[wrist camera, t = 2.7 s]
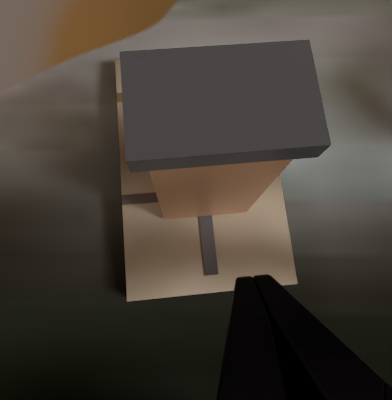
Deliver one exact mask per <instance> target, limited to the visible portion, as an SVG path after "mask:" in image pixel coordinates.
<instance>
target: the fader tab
mask: <svg viewBox="0 0 392 400" xmlns="http://www.w3.org/2000/svg"><path fill="white" fill-rule="evenodd" d="M120 67H121V85H122V104H123V122H124V141H125V159H126V163H127V165H128V168H129V170H130V172H131V173H132V172H144V171H149V172H150V176H151V179H152V182H153V185H154V188H155V192H156V195H157V198H158V201H159V204H160V208H161V211H162V214H163V217H164V220H166V219H177V218H188V217H199V216H210V215H221V214H232V213H242V212H247V211H248V210H249V209H250V208H251V206H252V205H253V204H254V203H255V202H256V201H257V200H258V198H259V197H260V196H261V195H262V194H263V193H264V192H265V190H266V189H267V188H268V187H269V186H270V185H271V184H272V182H273V181H274V180H275V179H276V178H277V177H278V176H279V174H280V173H281V172H282V171H283V170H284V169H285V168H286V166H287V165H288V164H289V163H290V162H291V161H292V160H293V159H300V158H312V157H318V156H320V155H321V154H322V153H323V152H324V151H325V150H326V149H327V148H328V147H329V146H330V145H331V143H330V138H329V133H328V128H327V124H326V119H325V114H324V109H323V104H322V99H321V94H320V89H319V85H318V80H317V75H316V70H315V65H314V60H313V55H312V50H311V46H310V41H309V40H298V41H282V42H266V43H250V44H235V45H219V46H203V47H187V48H171V49H156V50H140V51H124V52H120Z"/></svg>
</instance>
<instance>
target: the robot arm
mask: <svg viewBox="0 0 392 400" xmlns="http://www.w3.org/2000/svg"><path fill="white" fill-rule="evenodd" d="M216 400H392V386H391V385H390V384H389V383H385V381H384V379H383V378H382V377H381V376H380V375H379V374H377V373H376V372H375V371H374V370H373V369H372V368H371V367H370V366H369V365H368V364H367V363H366V362H364V361H363V360H362V359H361V358H360V357H359V356H358V355H357V354H356V353H355V352H354V351H352V350H351V349H350V348H349V347H348V346H347V345H346V344H345V343H344V342H343V341H342V340H340V339H339V338H338V337H337V336H336V335H335V334H334V333H333V332H332V331H331V330H330V329H329V328H327V327H326V326H325V325H324V324H323V323H322V322H321V321H320V320H319V319H318V318H317V317H315V316H314V315H313V314H312V313H311V312H310V311H309V310H308V309H307V308H306V307H305V306H303V305H302V304H301V303H300V302H299V301H298V300H297V299H296V298H295V297H294V296H293V295H292V294H290V293H289V292H288V291H287V290H286V289H285V288H284V287H283V286H282V285H281V284H280V283H278V282H277V281H276V280H275V279H274V278H273V277H272V276H271V275H269V274H263V275H255V276H253V277H252V276H243V277H237V278H236V281H235V287H234V293H233V299H232V305H231V312H230V318H229V324H228V330H227V337H226V343H225V349H224V355H223V361H222V368H221V374H220V380H219V386H218V393H217V399H216Z"/></svg>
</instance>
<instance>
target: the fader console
mask: <svg viewBox="0 0 392 400" xmlns="http://www.w3.org/2000/svg"><path fill="white" fill-rule="evenodd" d="M115 71H116V91H117V93H116V96H117V111H118V131H119V151H120V171H121V191H122V195H121V196H122V211H123V231H124V251H125V271H126V291H127V301H137V300H147V299H156V298H166V297H175V296H185V295H195V294H204V293H214V292H223V291H233V290H234V287H235V281H236V278H237V277H243V276H252V277H253V276H255V275H263V274H269V275H271V276H272V277H273V278H274V279H275V280H276V281H277V282H278V283H280V284H281V285H291V284H298V283H297V277H296V271H295V265H294V259H293V253H292V247H291V241H290V235H289V229H288V222H287V216H286V210H285V204H284V198H283V192H282V186H281V180H280V174H279V176H278V177H277V178H276V179H275V180H274V181H273V182H272V184H271V185H270V186H269V187H268V188H267V189H266V190H265V192H264V193H263V194H262V195H261V196H260V197H259V198H258V200H257V201H256V202H255V203H254V204H253V205H252V206H251V208H250V209H249V210H248V211H247V212H242V213H232V214H221V215H210V216H199V217H188V218H177V219H166V220H164V217H163V214H162V211H161V208H160V204H159V201H158V198H157V195H156V192H155V188H154V185H153V182H152V179H151V176H150V172H149V171H144V172H132V173H131V172H130V170H129V168H128V165H127V163H126V159H125V141H124V122H123V104H122V85H121V67H120V58H115Z"/></svg>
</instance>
